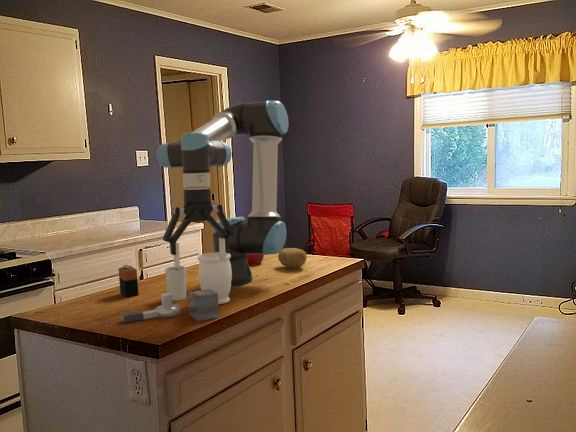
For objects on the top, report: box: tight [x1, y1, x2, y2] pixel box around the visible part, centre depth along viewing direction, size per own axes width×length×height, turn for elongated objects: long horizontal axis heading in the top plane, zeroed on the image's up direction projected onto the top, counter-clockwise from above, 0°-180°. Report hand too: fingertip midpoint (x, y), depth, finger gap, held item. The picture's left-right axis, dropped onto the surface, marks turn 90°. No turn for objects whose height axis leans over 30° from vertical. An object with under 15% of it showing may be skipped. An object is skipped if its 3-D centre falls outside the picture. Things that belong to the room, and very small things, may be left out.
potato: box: [277, 247, 307, 269], centre depth 219 cm, size 10×14×8 cm
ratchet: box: [121, 292, 181, 324], centre depth 159 cm, size 16×7×6 cm, turn 119°
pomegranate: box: [246, 254, 265, 266], centre depth 230 cm, size 10×10×9 cm
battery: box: [118, 264, 139, 298], centre depth 186 cm, size 4×7×10 cm, turn 35°
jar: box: [197, 252, 232, 306], centre depth 172 cm, size 11×10×15 cm
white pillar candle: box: [164, 265, 187, 301], centre depth 179 cm, size 7×7×10 cm
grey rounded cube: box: [188, 289, 220, 322], centre depth 157 cm, size 6×6×7 cm
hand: (200, 263), depth 155 cm, fingers open, 13 cm apart
